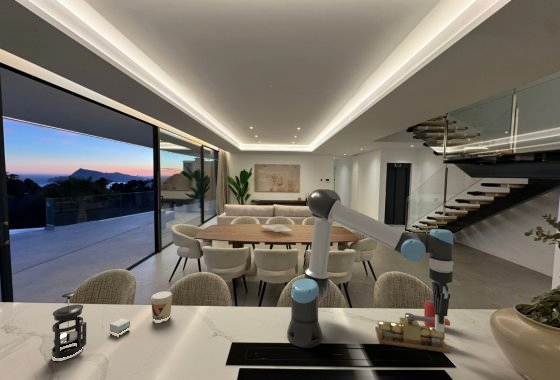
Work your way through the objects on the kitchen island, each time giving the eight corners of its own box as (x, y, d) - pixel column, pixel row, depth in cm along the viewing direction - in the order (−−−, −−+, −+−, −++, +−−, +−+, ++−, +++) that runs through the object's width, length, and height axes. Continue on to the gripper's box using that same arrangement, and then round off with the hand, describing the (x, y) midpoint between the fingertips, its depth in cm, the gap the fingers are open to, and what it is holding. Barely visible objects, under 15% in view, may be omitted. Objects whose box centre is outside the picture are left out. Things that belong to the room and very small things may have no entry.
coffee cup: (146, 323, 115) (146, 298, 115) (159, 313, 124) (159, 290, 125) (164, 325, 114) (164, 299, 114) (175, 315, 123) (176, 291, 123)
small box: (117, 338, 104) (118, 326, 104) (109, 334, 106) (109, 323, 106) (130, 331, 109) (130, 320, 109) (122, 328, 111) (122, 317, 111)
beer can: (443, 330, 111) (443, 304, 111) (427, 329, 113) (427, 303, 113) (437, 323, 118) (437, 298, 118) (422, 321, 119) (422, 297, 119)
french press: (42, 362, 89) (42, 299, 89) (64, 345, 98) (65, 288, 98) (74, 362, 89) (74, 299, 89) (93, 346, 98) (94, 289, 98)
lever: (406, 320, 102) (406, 316, 102) (404, 316, 106) (404, 312, 106) (450, 326, 98) (450, 322, 98) (447, 322, 102) (447, 318, 102)
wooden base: (379, 343, 102) (379, 321, 102) (375, 330, 111) (375, 310, 111) (449, 353, 96) (449, 330, 96) (438, 338, 106) (438, 317, 106)
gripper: (459, 276, 87) (457, 342, 87) (446, 265, 99) (444, 323, 99) (435, 274, 89) (433, 338, 89) (425, 263, 102) (424, 320, 102)
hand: (439, 330), depth 94 cm, fingers closed
